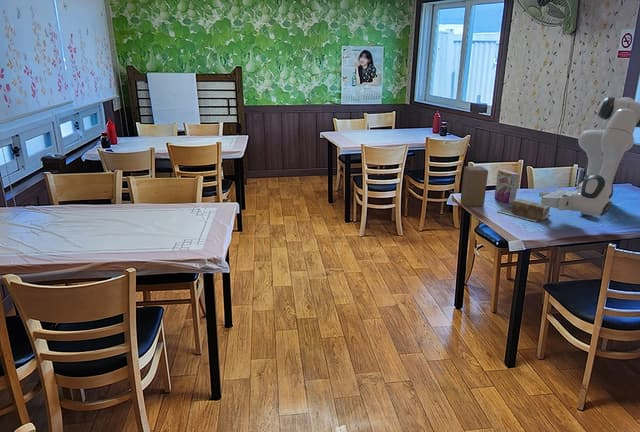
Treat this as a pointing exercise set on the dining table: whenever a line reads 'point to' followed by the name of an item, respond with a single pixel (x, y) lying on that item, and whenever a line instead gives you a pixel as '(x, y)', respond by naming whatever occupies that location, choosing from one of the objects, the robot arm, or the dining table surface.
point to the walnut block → (530, 209)
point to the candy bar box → (506, 186)
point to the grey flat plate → (508, 212)
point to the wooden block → (474, 186)
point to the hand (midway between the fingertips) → (540, 193)
